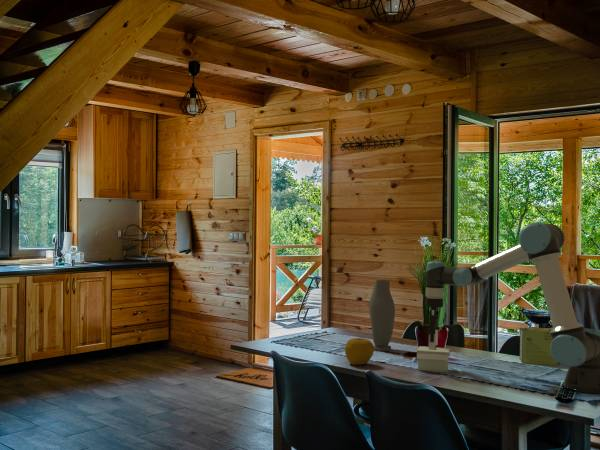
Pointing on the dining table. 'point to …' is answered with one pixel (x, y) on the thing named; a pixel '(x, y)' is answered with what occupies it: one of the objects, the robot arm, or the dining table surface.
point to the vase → (382, 315)
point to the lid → (433, 353)
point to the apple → (359, 351)
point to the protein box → (536, 346)
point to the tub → (432, 365)
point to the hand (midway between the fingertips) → (433, 347)
